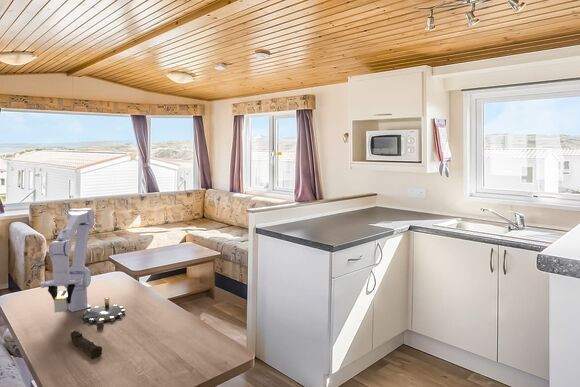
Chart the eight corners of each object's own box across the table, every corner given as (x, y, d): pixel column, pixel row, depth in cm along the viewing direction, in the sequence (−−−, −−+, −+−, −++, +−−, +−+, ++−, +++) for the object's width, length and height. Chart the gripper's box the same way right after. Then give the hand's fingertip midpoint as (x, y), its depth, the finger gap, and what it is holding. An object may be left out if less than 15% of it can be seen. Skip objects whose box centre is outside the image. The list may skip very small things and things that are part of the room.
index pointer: (98, 326, 162) (97, 320, 162) (103, 325, 163) (103, 319, 163) (97, 329, 159) (96, 323, 159) (102, 328, 160) (102, 322, 160)
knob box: (60, 303, 169) (60, 290, 168) (71, 302, 170) (70, 289, 169) (54, 312, 159) (54, 299, 159) (66, 311, 161) (65, 298, 160)
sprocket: (73, 321, 166) (72, 308, 165) (100, 306, 182) (99, 294, 181) (108, 325, 162) (108, 312, 162) (132, 309, 178) (132, 298, 178)
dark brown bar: (103, 356, 140) (102, 343, 139) (91, 360, 137) (90, 347, 136) (79, 339, 152) (79, 327, 152) (68, 342, 149) (67, 330, 149)
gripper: (37, 275, 157) (39, 308, 158) (79, 271, 161) (81, 305, 163) (42, 269, 163) (44, 302, 165) (82, 266, 168) (84, 298, 169)
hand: (62, 303), depth 164 cm, fingers closed on knob box, 4 cm apart
